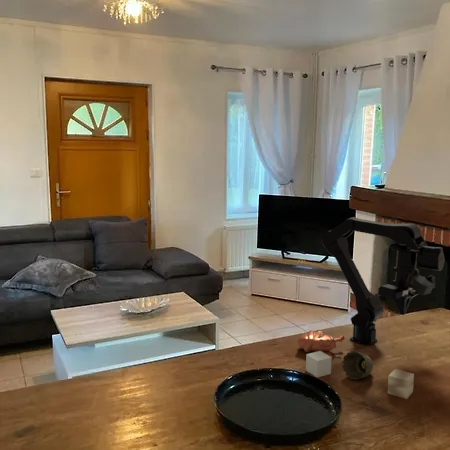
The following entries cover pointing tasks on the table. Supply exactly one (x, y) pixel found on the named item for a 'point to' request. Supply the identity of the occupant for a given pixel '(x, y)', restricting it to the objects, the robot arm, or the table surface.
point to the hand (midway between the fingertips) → (402, 314)
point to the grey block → (318, 364)
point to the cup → (357, 365)
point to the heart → (318, 342)
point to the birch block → (400, 383)
